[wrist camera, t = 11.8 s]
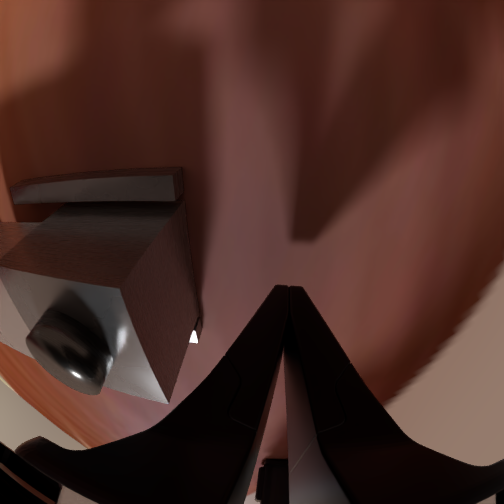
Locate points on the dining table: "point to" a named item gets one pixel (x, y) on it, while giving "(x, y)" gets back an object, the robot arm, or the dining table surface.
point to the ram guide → (106, 192)
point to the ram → (101, 294)
